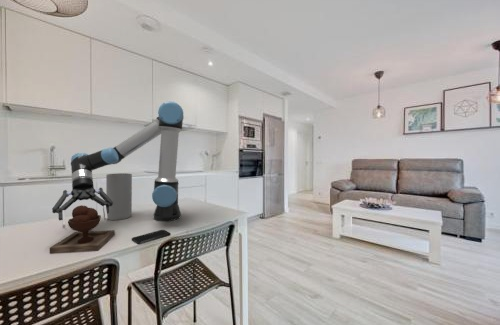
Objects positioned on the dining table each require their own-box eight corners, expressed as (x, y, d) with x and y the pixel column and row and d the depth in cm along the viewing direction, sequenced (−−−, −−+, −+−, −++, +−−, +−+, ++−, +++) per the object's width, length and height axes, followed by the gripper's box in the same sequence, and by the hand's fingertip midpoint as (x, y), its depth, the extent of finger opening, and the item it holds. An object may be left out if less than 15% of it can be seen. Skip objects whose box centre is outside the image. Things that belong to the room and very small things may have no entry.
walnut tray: (114, 234, 98) (114, 230, 98) (97, 250, 83) (97, 245, 83) (75, 236, 95) (75, 231, 95) (49, 253, 79) (49, 247, 79)
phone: (171, 233, 100) (138, 243, 89) (171, 235, 100) (138, 245, 89) (163, 229, 105) (130, 237, 94) (163, 231, 105) (130, 240, 94)
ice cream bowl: (80, 248, 82) (79, 210, 81) (62, 243, 86) (61, 206, 85) (107, 238, 92) (106, 203, 91) (89, 233, 96) (89, 200, 95)
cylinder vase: (120, 213, 132) (120, 172, 130) (136, 215, 128) (136, 174, 127) (100, 219, 120) (100, 174, 118) (118, 221, 116) (118, 176, 115)
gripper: (113, 184, 108) (119, 221, 97) (45, 189, 91) (44, 234, 80) (115, 175, 103) (122, 212, 93) (44, 178, 87) (43, 224, 76)
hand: (86, 223), depth 87 cm, fingers open, 13 cm apart
